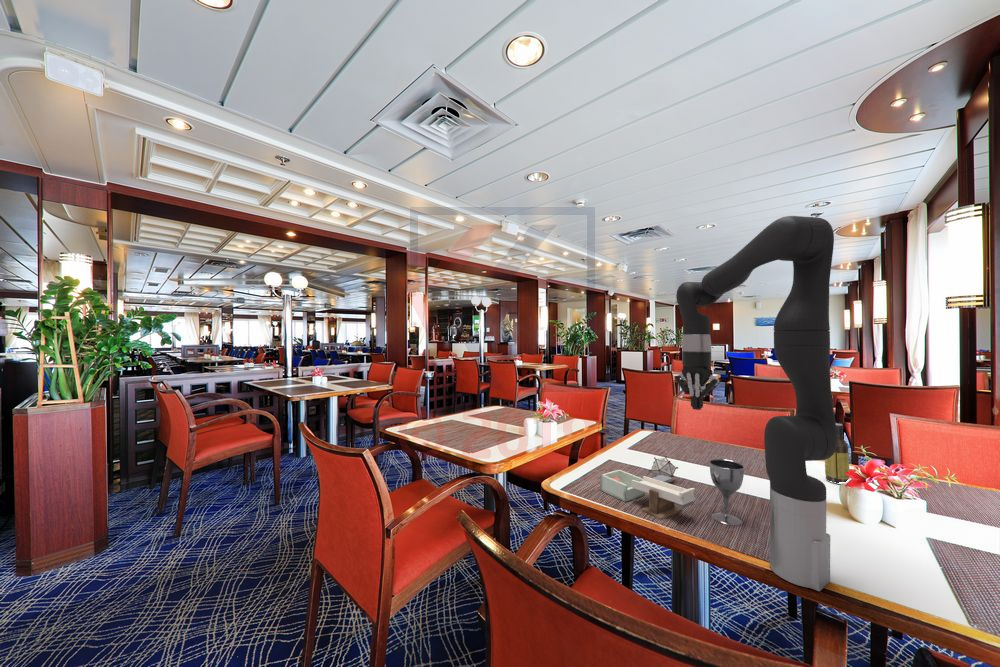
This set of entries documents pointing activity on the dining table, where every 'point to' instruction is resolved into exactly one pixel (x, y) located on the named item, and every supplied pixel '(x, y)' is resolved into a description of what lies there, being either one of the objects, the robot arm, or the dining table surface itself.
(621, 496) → the tray
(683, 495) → the lever
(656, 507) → the fulcrum
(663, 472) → the grey geometric polyhedron
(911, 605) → the dining table surface
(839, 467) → the sauce bottle
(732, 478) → the wine glass
